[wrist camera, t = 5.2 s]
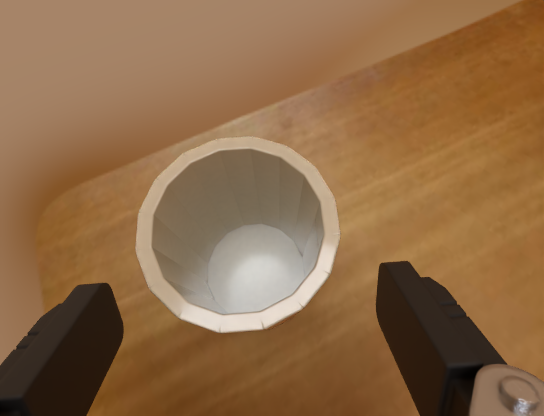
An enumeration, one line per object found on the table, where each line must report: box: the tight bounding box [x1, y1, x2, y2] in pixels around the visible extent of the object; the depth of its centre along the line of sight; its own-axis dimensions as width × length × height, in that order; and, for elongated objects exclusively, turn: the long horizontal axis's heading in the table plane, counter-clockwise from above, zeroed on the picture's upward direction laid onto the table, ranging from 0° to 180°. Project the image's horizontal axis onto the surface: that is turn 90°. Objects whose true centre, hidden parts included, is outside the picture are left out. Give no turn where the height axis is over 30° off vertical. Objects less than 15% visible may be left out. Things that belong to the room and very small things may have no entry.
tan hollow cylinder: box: [135, 136, 341, 333], centre depth 14 cm, size 6×6×9 cm
